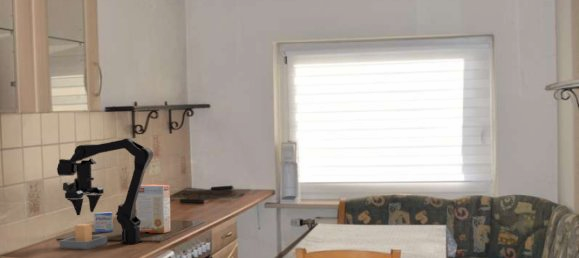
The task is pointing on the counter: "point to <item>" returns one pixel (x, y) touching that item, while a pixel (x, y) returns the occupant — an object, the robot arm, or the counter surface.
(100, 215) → the medicine box
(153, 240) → the counter surface
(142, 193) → the cracker box
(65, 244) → the block holder
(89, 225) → the plain tan block
